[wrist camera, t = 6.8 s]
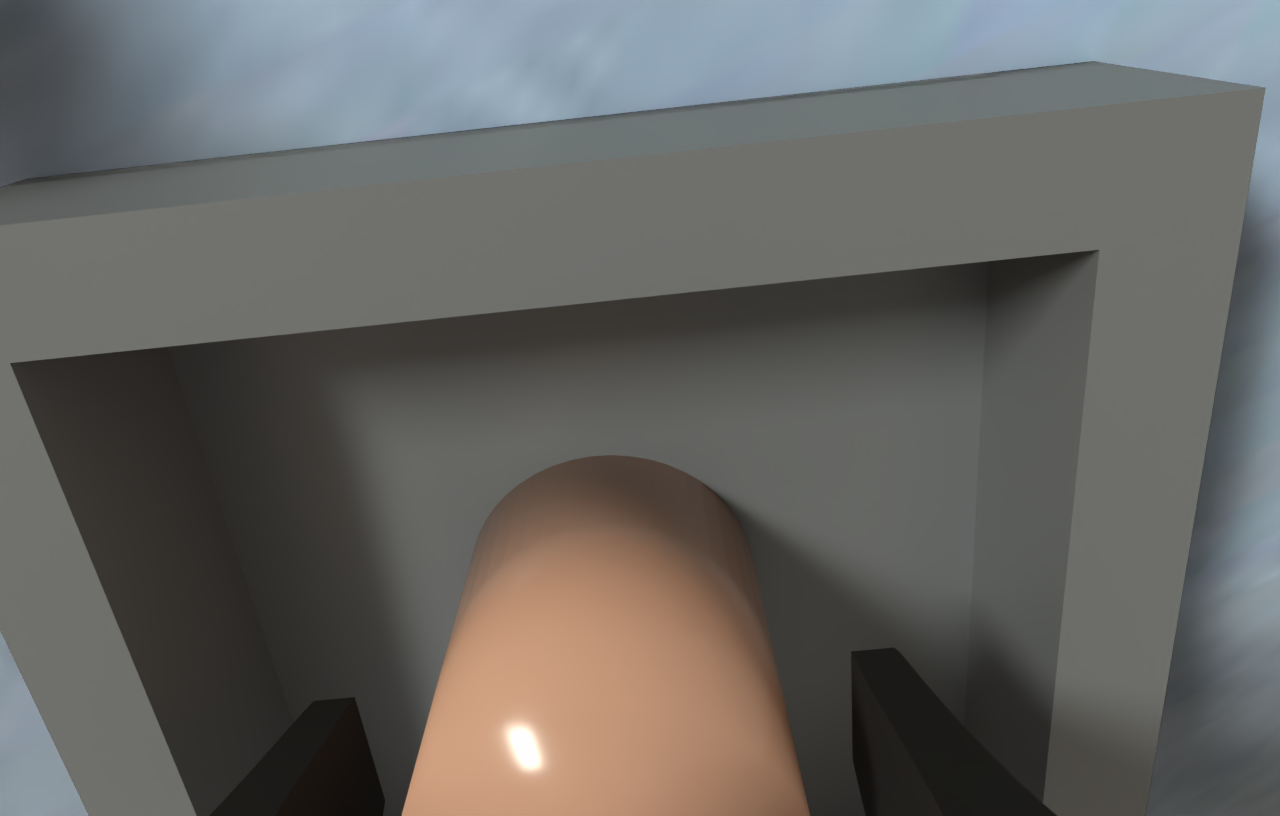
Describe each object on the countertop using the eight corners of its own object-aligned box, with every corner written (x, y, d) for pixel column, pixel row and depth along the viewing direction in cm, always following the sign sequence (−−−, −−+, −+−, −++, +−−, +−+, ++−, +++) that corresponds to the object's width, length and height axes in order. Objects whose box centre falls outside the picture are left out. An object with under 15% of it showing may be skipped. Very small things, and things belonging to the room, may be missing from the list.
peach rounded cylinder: (764, 674, 17) (828, 989, 12) (501, 706, 18) (446, 1028, 12) (739, 437, 15) (802, 683, 10) (443, 475, 16) (343, 738, 10)
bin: (1022, 842, 20) (1109, 1032, 16) (296, 904, 21) (225, 1101, 17) (1093, 61, 14) (1265, 87, 10) (26, 178, 14) (-184, 245, 10)
